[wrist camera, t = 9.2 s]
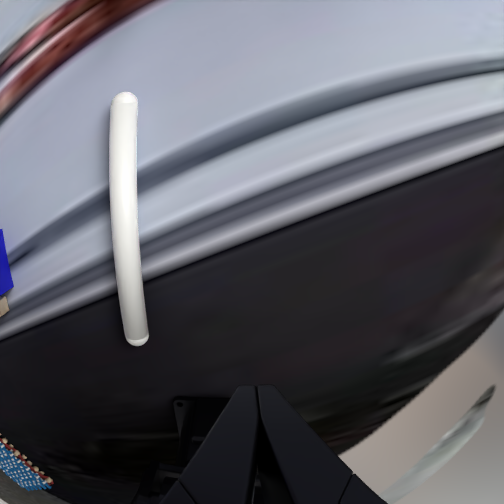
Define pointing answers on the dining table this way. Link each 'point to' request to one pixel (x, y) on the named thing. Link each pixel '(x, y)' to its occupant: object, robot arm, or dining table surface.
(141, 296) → the white peg
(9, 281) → the cable clip
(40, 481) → the woven mat
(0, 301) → the frame
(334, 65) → the dining table surface
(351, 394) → the dining table surface
